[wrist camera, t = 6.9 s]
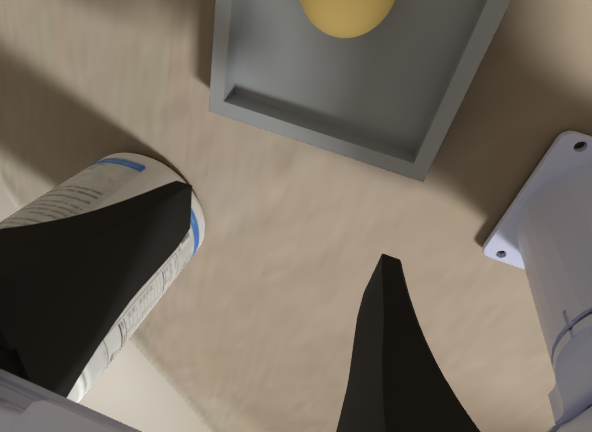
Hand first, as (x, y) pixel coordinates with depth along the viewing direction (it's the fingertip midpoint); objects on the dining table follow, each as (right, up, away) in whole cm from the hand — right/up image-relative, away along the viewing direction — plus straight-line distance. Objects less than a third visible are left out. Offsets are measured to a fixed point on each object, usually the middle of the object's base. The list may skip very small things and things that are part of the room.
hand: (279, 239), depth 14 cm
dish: (+3, +10, +4) cm, 12 cm away
